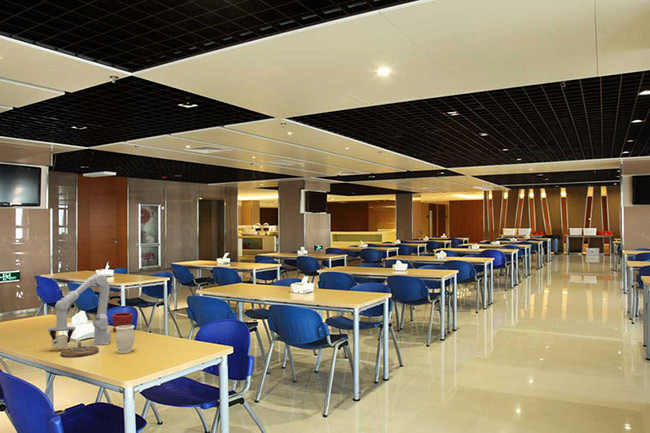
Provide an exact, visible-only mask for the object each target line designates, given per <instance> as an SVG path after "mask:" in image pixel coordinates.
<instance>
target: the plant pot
mask: <svg viewBox="0 0 650 433" xmlns="http://www.w3.org/2000/svg"><path fill="white" fill-rule="evenodd" d="M132 322H133V313H131V312H130V313H129V312H117V313H114V314H112V325H113V326H114V327H113V328H112V330H113V331H114V332H116V327H117V326H122V325H132Z"/></svg>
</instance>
